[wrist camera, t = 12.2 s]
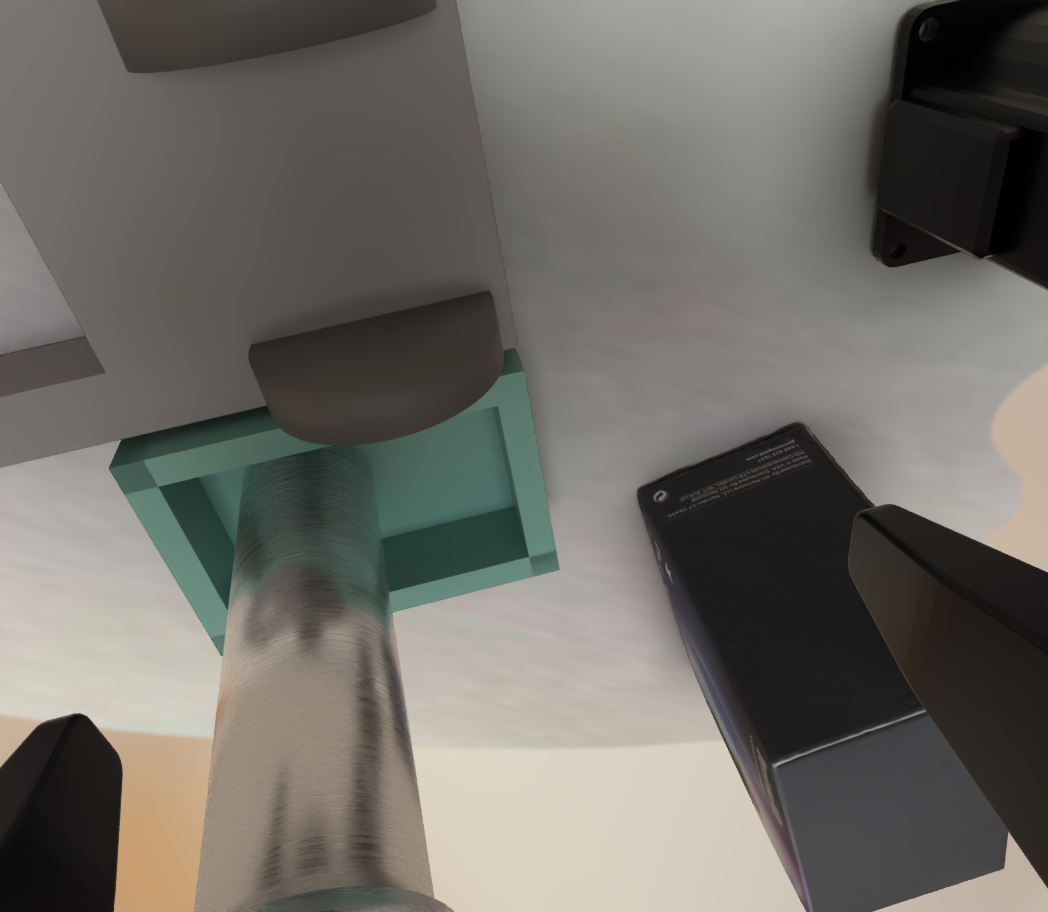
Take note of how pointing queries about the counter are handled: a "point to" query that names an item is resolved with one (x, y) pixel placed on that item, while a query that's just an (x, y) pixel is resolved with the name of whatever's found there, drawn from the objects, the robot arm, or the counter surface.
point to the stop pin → (312, 708)
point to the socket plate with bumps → (249, 218)
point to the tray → (400, 490)
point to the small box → (813, 681)
